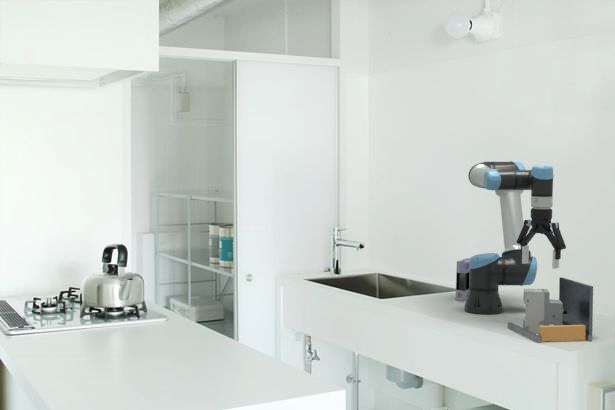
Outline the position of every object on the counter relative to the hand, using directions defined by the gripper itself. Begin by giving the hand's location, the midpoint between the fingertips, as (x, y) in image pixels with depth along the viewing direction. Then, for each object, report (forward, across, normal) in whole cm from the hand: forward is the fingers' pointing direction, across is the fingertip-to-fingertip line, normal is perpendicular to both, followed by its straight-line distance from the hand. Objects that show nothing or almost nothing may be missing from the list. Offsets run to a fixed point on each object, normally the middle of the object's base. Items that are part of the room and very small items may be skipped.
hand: (540, 265), depth 282 cm
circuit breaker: (+22, +9, -8) cm, 25 cm away
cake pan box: (+25, -59, +24) cm, 68 cm away
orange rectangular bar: (+22, +21, -14) cm, 33 cm away
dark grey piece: (+22, +11, -9) cm, 26 cm away
